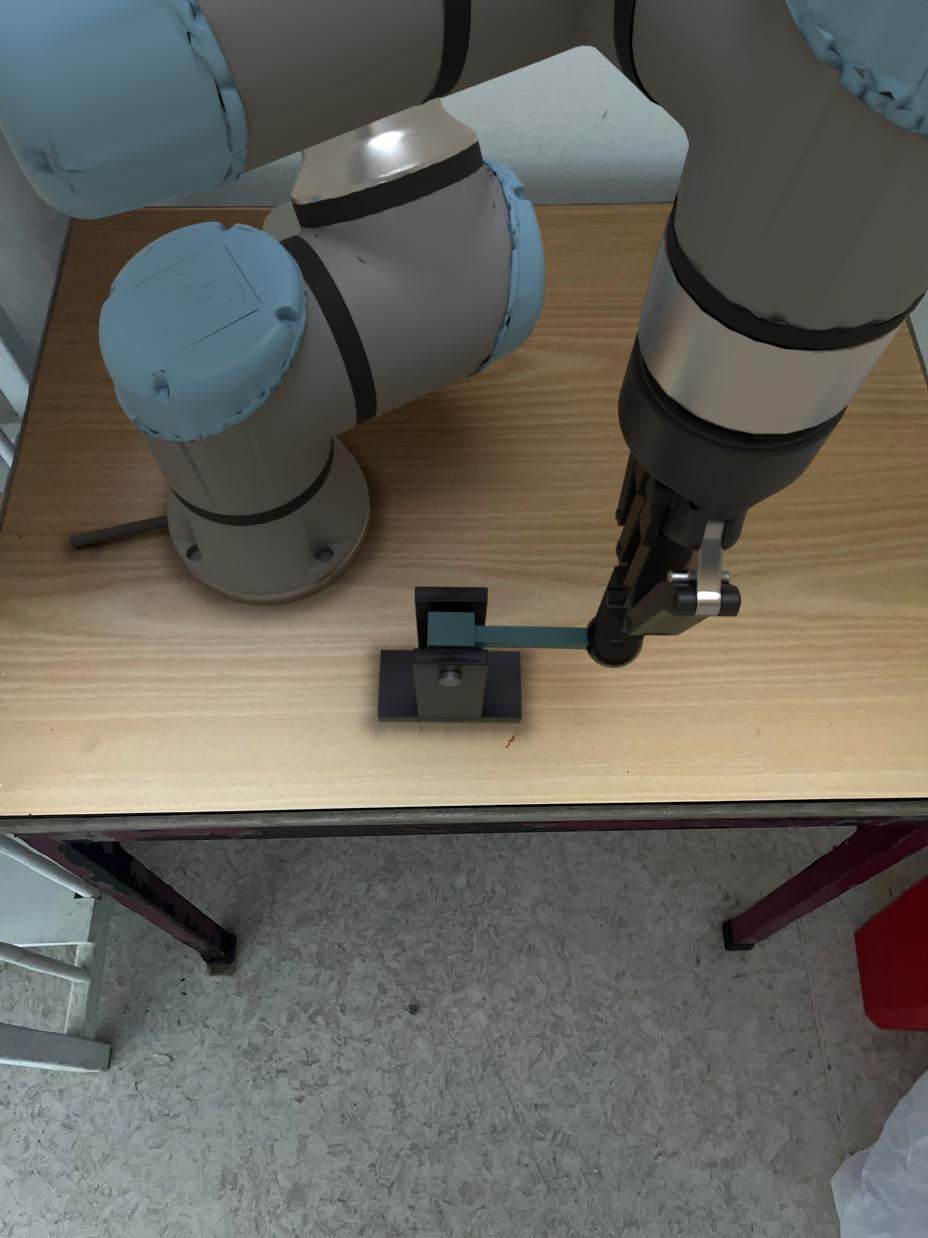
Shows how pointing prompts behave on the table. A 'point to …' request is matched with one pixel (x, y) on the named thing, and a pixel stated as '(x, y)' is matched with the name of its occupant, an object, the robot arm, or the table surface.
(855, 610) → the table surface
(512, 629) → the switch lever
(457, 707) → the switch bracket
